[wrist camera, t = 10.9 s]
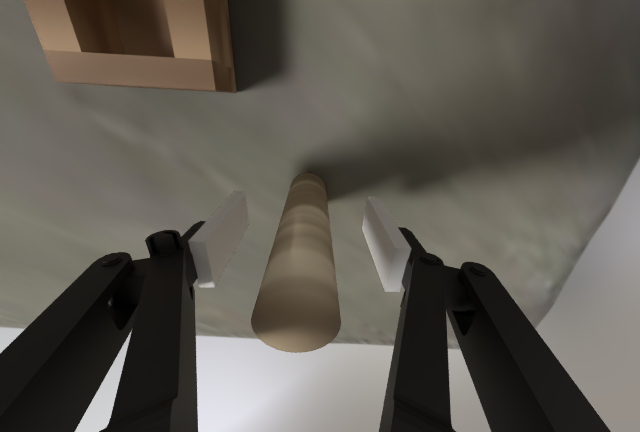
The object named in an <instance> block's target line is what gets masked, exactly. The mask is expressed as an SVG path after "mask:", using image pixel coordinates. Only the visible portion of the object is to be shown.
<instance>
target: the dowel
mask: <svg viewBox="0 0 640 432" xmlns="http://www.w3.org/2000/svg"><path fill="white" fill-rule="evenodd" d="M251 324H252V328H253V331H254V332H255V334H256V335H257V337H258V338H259V339H260V340H261V341H263V342H264V343H265V344H267V345H269V346H271V347H273V348H275V349H278V350H281V351H286V352H308V351H313V350H316V349H319V348H321V347H323V346H325V345H327V344H328V343H330V342H331V341H332V340H333V339H334V338H335V337H336V336H337V334H338V332H339V330H340V326H341V318H340V310H339V301H338V292H337V283H336V275H335V266H334V257H333V248H332V239H331V231H330V222H329V213H328V204H327V195H326V187H325V184H324V182H323V180H322V179H321V178H320V177H319V176H317V175H315V174H312V173H303V174H300V175H298V176H297V177H296V178H295V179H294V180H293V182H292V184H291V187H290V190H289V193H288V197H287V200H286V203H285V207H284V210H283V213H282V217H281V220H280V223H279V227H278V230H277V233H276V237H275V240H274V243H273V247H272V250H271V254H270V257H269V260H268V264H267V267H266V270H265V274H264V277H263V280H262V284H261V287H260V290H259V294H258V297H257V300H256V304H255V307H254V310H253V314H252V318H251Z"/></svg>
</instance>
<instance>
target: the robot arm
mask: <svg viewBox="0 0 640 432" xmlns="http://www.w3.org/2000/svg"><path fill="white" fill-rule="evenodd" d="M248 225H249V223H248V213H247V203H246V193H245V191H234V192H233V193H232V194H231V195H230V196H229V197H228V198H227V199H226V200H225V202H224V203H223V204H222V205H221V206H220V207H219V208H218V209H217V210H216V211H215V212H214V214H213V215H212V216H211V217H210V218H209V219H208V220H207V221H200V222H198V223H196V224H194V225H193V226H192V227H191V228H190V229H189V230H188V231H187V232H186V233H185V234H184V235H183V236H182V237H180V234H179V232H178V231H175V230H164V231H160V232H157V233H154V234H152V235H150V236H149V237H147V238H146V240H145V242H146V244H147V247H148V250H149V253H150V258H146V259H140V260H133V261H132V258H131V256H130V254H128V253H126V252H119V253H112V254H108V255H105V256H104V257H102V258H100V259H98V260H96V261H95V262H94V263H93V264H92V265H91V266H90V267H88V268H87V269H86V270H85V271H84V272H83V273H82V274H81V275H80V276H79V277H78V278H77V279H76V280H75V281H74V282H73V283H72V284H71V285H70V286H69V287H68V288H67V289H66V290H65V291H64V292H63V293H62V294H61V295H60V296H59V297H58V298H57V299H56V300H55V301H54V302H53V303H52V304H51V305H50V306H49V307H48V308H47V309H46V310H44V311H43V312H42V313H41V314H40V315H39V316H38V317H37V318H36V319H35V320H34V321H33V322H32V323H31V324H30V325H29V326H28V327H27V328H26V329H25V330H24V331H23V332H22V333H21V334H20V335H19V336H18V337H17V338H16V339H15V340H14V341H13V342H12V343H11V344H10V345H9V346H8V347H7V348H6V349H5V350H4V351H3V352H2V353H1V354H0V432H74V431H75V430H76V428H77V426H78V424H79V423H80V421H81V419H82V417H83V416H84V414H85V412H86V410H87V408H88V406H89V405H90V403H91V401H92V399H93V398H94V396H95V394H96V392H97V391H98V389H99V387H100V385H101V383H102V382H103V380H104V378H105V376H106V374H107V373H108V371H109V369H110V367H111V366H112V364H113V362H114V360H115V358H116V357H117V355H118V353H119V351H120V349H121V348H122V346H123V344H124V342H125V341H126V339H127V337H128V335H129V333H130V332H131V330H132V333H131V338H130V341H129V345H128V349H127V353H126V357H125V361H124V366H123V370H122V374H121V378H120V382H119V386H118V390H117V394H116V398H115V402H114V407H113V410H112V415H111V418H110V421H109V424H108V426H107V428H105V429H103V430H101V431H99V432H198V415H197V373H196V332H195V291H194V287H193V284H194V282H195V281H196V279H198V284H199V287H215V286H216V284H217V282H218V280H219V279H220V277H221V275H222V273H223V271H224V269H225V268H226V266H227V264H228V262H229V260H230V258H231V257H232V255H233V253H234V251H235V249H236V247H237V246H238V244H239V242H240V240H241V238H242V236H243V235H244V233H245V231H246V229H247V227H248ZM362 230H363V233H364V235H365V238H366V241H367V243H368V246H369V249H370V252H371V254H372V257H373V260H374V263H375V265H376V268H377V271H378V274H379V276H380V279H381V282H382V284H383V287H384V290H385V292H400V288H401V285H402V284H403V286H404V288H405V291H404V295H403V298H402V302H401V306H400V307H401V311H400V317H399V322H398V328H397V333H396V339H395V344H394V351H393V356H392V361H391V368H390V372H389V378H388V383H387V389H386V395H385V400H384V406H383V411H382V417H381V423H380V428H379V432H456V431H455V430H454V429H453V428H452V425H451V415H450V392H449V370H448V346H447V324H446V311H447V314H448V316H449V319H450V322H451V324H452V327H453V330H454V332H455V335H456V338H457V340H458V343H459V346H460V348H461V351H462V354H463V357H464V359H465V362H466V365H467V367H468V370H469V373H470V375H471V378H472V381H473V383H474V386H475V389H476V391H477V394H478V396H479V399H480V402H481V404H482V407H483V410H484V413H485V416H486V418H487V421H488V424H489V426H490V429H491V432H610V430H609V429H608V427H607V426H606V425H605V423H604V422H603V421H602V419H601V418H600V417H599V415H598V414H597V412H596V411H595V410H594V408H593V407H592V406H591V404H590V403H589V402H588V400H587V399H586V398H585V396H584V395H583V393H582V392H581V391H580V390H579V388H578V387H577V385H576V384H575V383H574V381H573V380H572V379H571V377H570V376H569V374H568V373H567V372H566V370H565V369H564V368H563V366H562V365H561V364H560V362H559V361H558V360H557V358H556V357H555V356H554V354H553V353H552V351H551V350H550V349H549V347H548V346H547V345H546V343H545V342H544V341H543V339H542V338H541V337H540V335H539V334H538V332H537V331H536V330H535V328H534V327H533V326H532V324H531V323H530V322H529V320H528V319H527V318H526V316H525V315H524V313H523V312H522V311H521V309H520V308H519V307H518V305H517V304H516V303H515V301H514V300H513V299H512V297H511V296H510V295H509V293H508V292H507V290H506V289H505V288H504V286H503V285H502V284H501V282H500V281H499V280H498V278H497V277H496V276H495V274H494V273H493V272H492V271H491V270H490V269H488V268H487V267H485V266H484V265H482V264H479V263H474V262H465V263H463V264H462V266H461V268H460V269H458V268H453V267H449V266H445V265H444V263H443V261H442V260H441V259H440V258H439V257H437V256H435V255H433V254H430V253H427V252H426V251H425V249H424V248H423V247H422V245H421V244H420V243H419V242H418V240H417V239H416V238H415V236H414V235H413V233H412V232H411V231H409V230H408V229H406V228H400V227H397V226H396V224H395V222H394V221H393V219H392V218H391V216H390V215H389V213H388V212H387V210H386V209H385V207H384V206H383V204H382V203H381V201H380V200H379V198H378V196H367V200H366V207H365V213H364V220H363V227H362ZM132 328H133V329H132Z"/></svg>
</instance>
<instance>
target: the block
mask: <svg viewBox="0 0 640 432" xmlns="http://www.w3.org/2000/svg"><path fill="white" fill-rule="evenodd" d="M24 3H25V5H26V8H27V10H28V13H29V15H30V18H31V20H32V23H33V25H34V28H35V30H36V33H37V35H38V38H39V40H40V43H41V45H42V48H43V50H44V53H45V55H46V58H47V60H48V63H49V65H50V68H51V70H52V73H53V75H54V78H55V80H56V82H67V83H80V84H93V85H105V86H121V87H139V88H157V89H175V90H193V91H211V92H229V93H237V92H236V82H235V72H234V61H233V51H232V41H231V31H230V21H229V11H228V1H227V0H24Z"/></svg>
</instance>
